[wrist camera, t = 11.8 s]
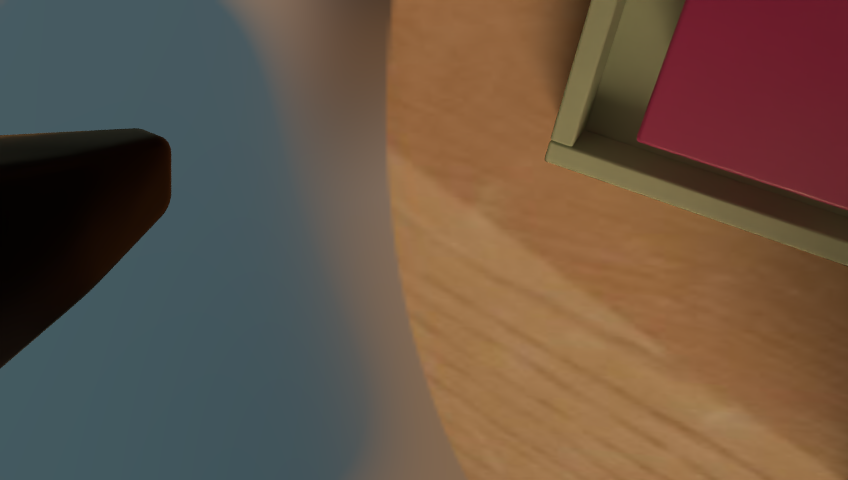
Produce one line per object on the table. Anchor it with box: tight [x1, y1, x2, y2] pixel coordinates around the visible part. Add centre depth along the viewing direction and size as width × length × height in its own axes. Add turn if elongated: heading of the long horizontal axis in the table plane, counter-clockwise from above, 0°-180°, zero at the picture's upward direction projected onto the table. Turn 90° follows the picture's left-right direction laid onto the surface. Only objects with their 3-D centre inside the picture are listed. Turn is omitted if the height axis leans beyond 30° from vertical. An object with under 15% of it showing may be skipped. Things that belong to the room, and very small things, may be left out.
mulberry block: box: [637, 0, 848, 211], centre depth 15 cm, size 5×5×5 cm
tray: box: [545, 0, 848, 266], centre depth 17 cm, size 10×9×2 cm
